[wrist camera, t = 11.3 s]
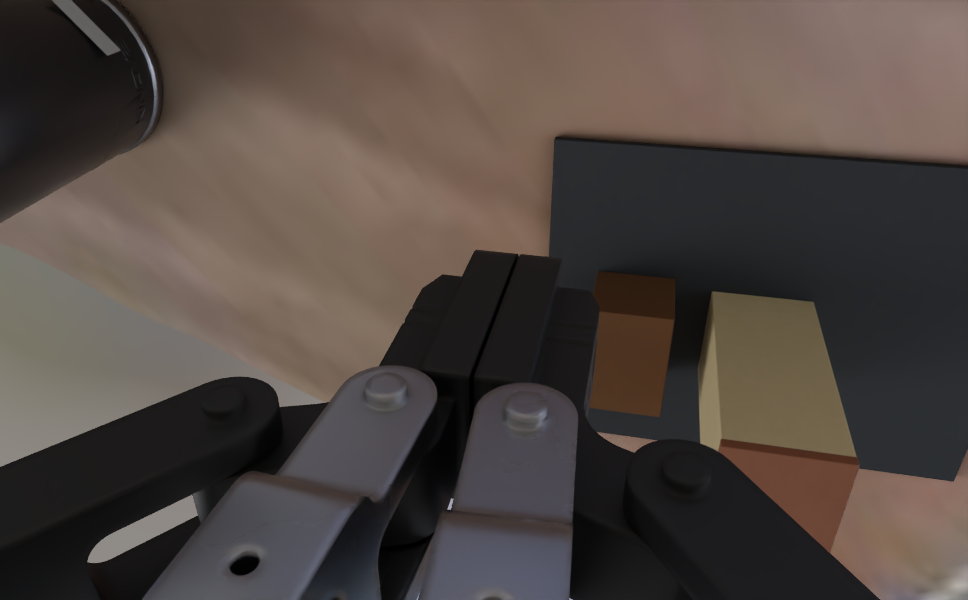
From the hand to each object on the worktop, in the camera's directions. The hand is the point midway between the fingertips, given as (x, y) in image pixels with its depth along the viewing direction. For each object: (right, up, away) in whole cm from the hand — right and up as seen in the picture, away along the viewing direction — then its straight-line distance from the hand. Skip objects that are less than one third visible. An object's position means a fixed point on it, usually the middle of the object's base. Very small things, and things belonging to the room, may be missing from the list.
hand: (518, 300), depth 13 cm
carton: (+11, -2, +28) cm, 30 cm away
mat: (+14, -1, +27) cm, 30 cm away
